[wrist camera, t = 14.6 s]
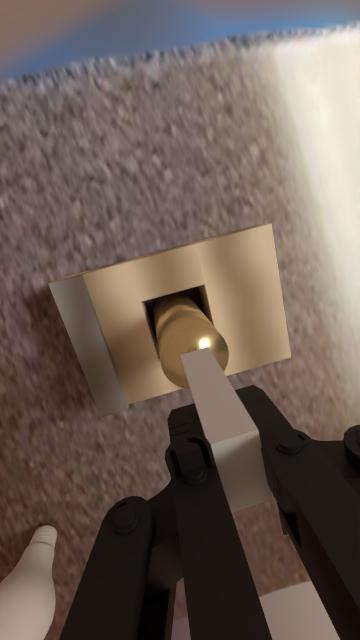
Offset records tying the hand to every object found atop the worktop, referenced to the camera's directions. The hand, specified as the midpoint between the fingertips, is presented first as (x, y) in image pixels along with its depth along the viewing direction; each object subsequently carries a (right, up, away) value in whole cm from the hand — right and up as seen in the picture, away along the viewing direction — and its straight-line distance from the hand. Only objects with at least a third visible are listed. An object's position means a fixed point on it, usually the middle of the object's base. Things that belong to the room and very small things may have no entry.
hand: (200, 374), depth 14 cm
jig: (-1, +4, +13) cm, 13 cm away
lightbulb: (-17, -21, +18) cm, 33 cm away
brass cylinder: (-2, +3, +13) cm, 13 cm away
